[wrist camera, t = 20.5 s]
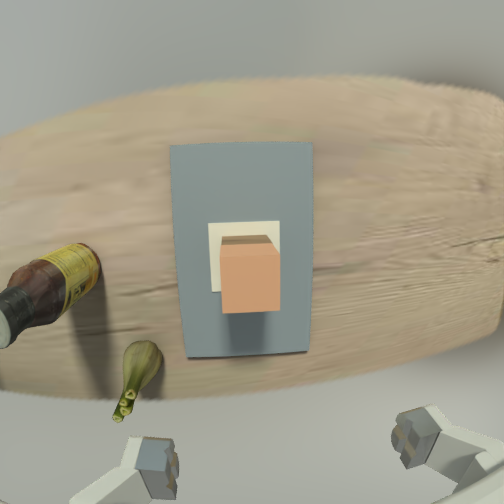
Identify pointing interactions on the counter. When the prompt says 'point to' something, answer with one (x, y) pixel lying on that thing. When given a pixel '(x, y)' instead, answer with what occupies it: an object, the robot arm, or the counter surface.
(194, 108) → the counter surface
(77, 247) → the sauce bottle
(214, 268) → the build board
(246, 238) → the walnut block
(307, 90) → the counter surface
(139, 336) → the counter surface
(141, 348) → the fennel bulb
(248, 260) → the terracotta block
